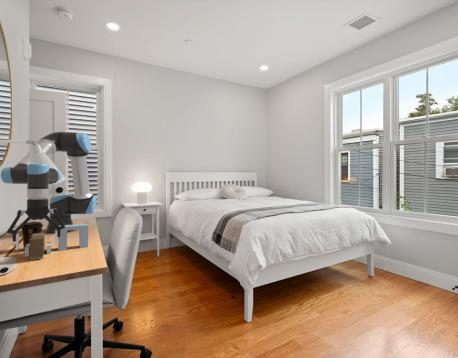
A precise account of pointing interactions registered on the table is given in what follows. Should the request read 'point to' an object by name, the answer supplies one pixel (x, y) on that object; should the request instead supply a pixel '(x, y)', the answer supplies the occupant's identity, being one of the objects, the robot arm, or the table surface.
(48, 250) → the cradle
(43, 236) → the walnut bar
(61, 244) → the bore block
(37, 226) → the coffee cup
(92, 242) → the table surface
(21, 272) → the table surface
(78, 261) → the table surface
